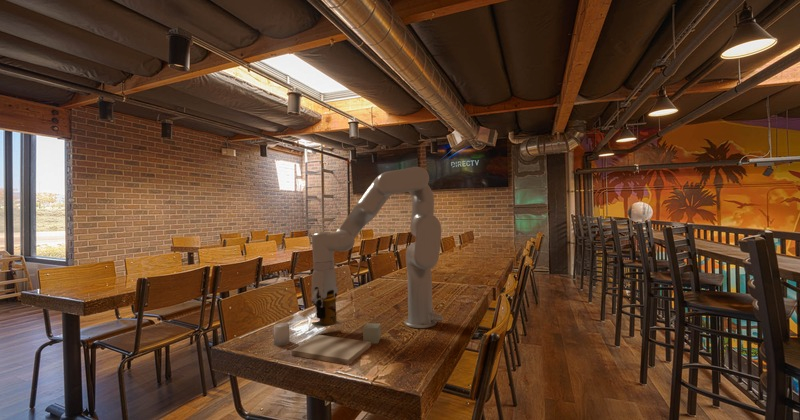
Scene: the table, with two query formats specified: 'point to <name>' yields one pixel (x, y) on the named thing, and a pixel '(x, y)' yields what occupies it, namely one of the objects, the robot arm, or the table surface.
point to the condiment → (328, 312)
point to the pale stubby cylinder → (281, 334)
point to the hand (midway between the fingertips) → (326, 314)
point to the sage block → (372, 332)
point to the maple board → (332, 349)
